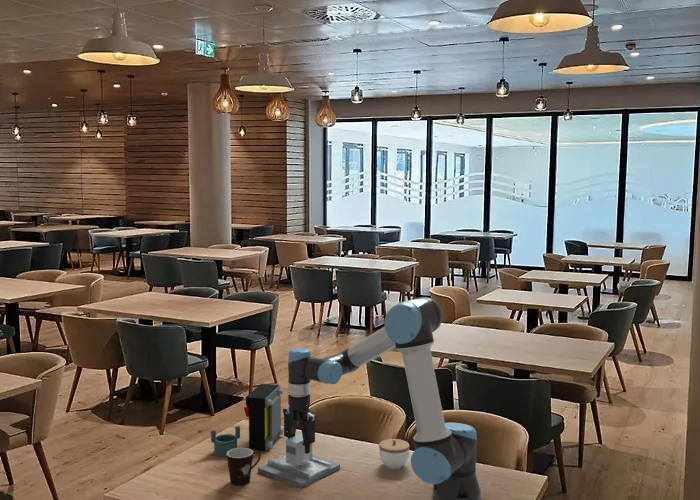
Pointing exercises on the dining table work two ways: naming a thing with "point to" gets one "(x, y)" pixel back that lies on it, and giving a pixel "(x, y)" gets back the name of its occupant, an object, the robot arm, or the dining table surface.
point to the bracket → (225, 441)
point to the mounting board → (294, 478)
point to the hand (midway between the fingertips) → (299, 459)
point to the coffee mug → (240, 465)
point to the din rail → (301, 466)
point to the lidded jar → (394, 453)
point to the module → (295, 450)
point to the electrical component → (264, 416)
